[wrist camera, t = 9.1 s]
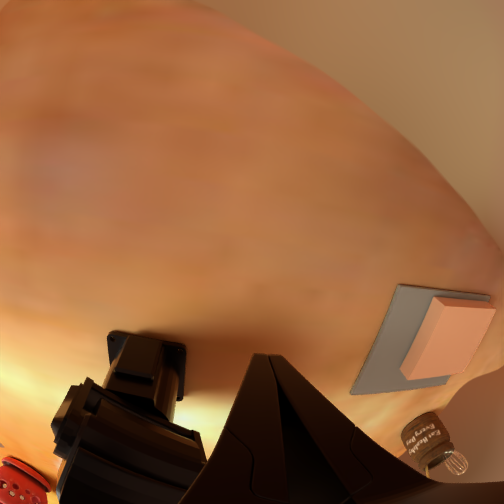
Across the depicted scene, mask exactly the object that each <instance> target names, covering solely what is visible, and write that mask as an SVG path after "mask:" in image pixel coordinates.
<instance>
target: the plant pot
mask: <svg viewBox="0 0 504 504" xmlns="http://www.w3.org/2000/svg"><path fill="white" fill-rule="evenodd" d="M2 463H3V466H1V467H0V504H48V501H47V495H46V492H50V491H51V487H50V485H49V483H48V482H47V481H46V480H45V479H44V478H43V477H42V476H41V475H40V474H39V473H37V472H36V471H34V470H33V469H32V468H31V467H30V466H27V465H25V464H24V463H22V462H20V461H18V460H16V459H13V458H10V457H5V458H3V459H2ZM3 484H6V485H7V487H6V488H3ZM10 491H12V492H14V493H15V495H14V496H11V495H10ZM20 495H22V496H23V497H24V500H21V499H20Z"/></svg>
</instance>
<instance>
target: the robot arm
mask: <svg viewBox="0 0 504 504" xmlns="http://www.w3.org/2000/svg"><path fill="white" fill-rule="evenodd" d="M112 337H114V338H115V339H113V338H112ZM107 344H108V353H109V361H110V369H109V371H108V373H107V376H106V378H105V380H104V383H103V385H102V387H101V386H99V385H97V384H96V383H94V381H93V380H92V379H90V378H88V377H87V378H86V380H85V382H84V384H82V383H80V385H79V386H75V385H71V387H70V389H69V391H68V393H67V395H66V397H65V399H64V401H63V403H62V404H61V406H60V408H59V410H58V411H57V413H56V415H55V417H54V418H53V421H52V423H51V428H52V430H53V433H54V435H55V440H54V443H56V447H55V449H54V452H53V453H54V454H55V455H57V456H59V457H61V458H63V460H62V463H61V465H60V468H59V471H58V476H57V485H56V494H57V497H58V500H59V504H504V481H500V482H487V483H443V482H438V481H434V480H432V479H430V478H428V477H426V476H424V475H422V474H421V473H419V472H418V471H416V470H414V469H413V468H411V467H410V466H408V465H407V464H405V463H404V462H402V461H401V460H399V459H398V458H396V457H395V456H393V455H392V454H391V453H389V452H388V451H386V450H385V449H384V448H382V447H381V446H380V445H378V444H377V443H376V442H375V441H373V440H372V439H371V438H370V437H369V436H367V435H366V434H365V433H364V432H363V431H362V430H361V429H359V428H358V427H357V426H356V427H355V424H354V423H353V422H351V421H350V420H349V419H348V418H347V417H346V416H345V415H344V414H343V413H342V412H341V411H339V410H338V409H337V408H336V407H335V406H334V405H333V404H332V403H331V402H330V401H329V400H328V399H327V398H325V397H324V396H323V395H322V394H321V393H320V392H319V391H318V390H317V389H316V388H315V387H314V386H313V385H312V384H311V383H310V382H309V381H308V380H307V379H305V378H304V377H303V376H302V375H301V374H300V373H299V372H298V371H297V370H296V369H295V368H294V367H293V366H292V365H291V364H290V363H289V362H288V361H287V360H286V359H285V358H284V357H283V356H281V355H273V354H269V355H268V356H267V355H266V354H260V353H254V354H253V355H252V357H251V360H250V363H249V365H248V368H247V370H246V373H245V376H244V378H243V381H242V383H241V386H240V388H239V391H238V393H237V396H236V399H235V401H234V404H233V406H232V408H231V411H230V413H229V416H228V418H227V421H226V423H225V426H224V429H223V430H222V433H221V435H220V437H219V440H218V442H217V444H216V446H215V448H214V450H213V452H212V454H211V456H210V458H209V459H208V461H207V459H206V455H205V452H204V448H203V444H202V441H201V437H200V433H199V432H197V431H194V430H189V429H186V428H184V427H181V426H179V425H177V424H174V423H173V419H174V412H175V405H176V401H182V400H183V395H184V380H185V367H186V354H187V348H186V346H185V345H183V344H179V343H173V342H167V341H161V340H155V339H150V338H144V337H139V336H134V335H128V334H123V333H119V332H114V331H111V332H109V334H108V336H107ZM178 349H181V350H183V351H179V350H178ZM178 396H179V397H178Z"/></svg>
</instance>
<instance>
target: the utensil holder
mask: <svg viewBox="0 0 504 504" xmlns="http://www.w3.org/2000/svg"><path fill="white" fill-rule="evenodd" d="M401 439H402V441H403V444H404V445H405V447H406V449H407V451H408V453H409V455H410V457H411V458H412V460H413V461H414V462H417V463H419V464H418V466H419V468H420V469H421V470H422V471H426V475H427V477H428V478H430V476H429V471H428V470H431V469H433V468H435V467H437V466H438V465H440V464H441V463H443V462H445V460H446V459H448V458H449V457H450V456H451V454H452V453H453V452H454V446H453V443H451V442H449V441H450V436H449V433H448V431H447V430H446V428H445V427H444V425H443V423H442V422H441V421H440V420H439V418H438V416H437V415H436V414H434V413H426V414H423V415H421V416H419V417H418V418H416V419H414V420H413V421H412V422H411V423H409V424H408V425H407V426H406V427H405V429H404V430H403V431H402V434H401ZM449 459H450V458H449ZM462 459H463V458H462ZM453 463H454V462H453ZM445 464H446V463H445ZM467 466H468V465H467ZM449 468H450V467H449ZM450 469H451V468H450ZM464 470H465V469H464ZM450 471H451V470H450ZM465 471H466V470H465ZM461 474H462V473H461Z"/></svg>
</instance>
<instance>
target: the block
mask: <svg viewBox="0 0 504 504" xmlns="http://www.w3.org/2000/svg"><path fill="white" fill-rule="evenodd" d="M495 311H496V308H494V307H493V306H492V305H490V304H489V303H488V302H486V301H476V300H465V299H454V298H444V297H433V299H432V301H431V304H430V306H429V309H428V311H427V313H426V316H425V318H424V320H423V322H422V325H421V327H420V329H419V331H418V333H417V335H416V337H415V339H414V341H413V343H412V346H411V348H410V350H409V351H408V353H407V355H406V357H405V359H404V361H403V363H402V365H401V367H400V370H401V372H402V373H403V375H404V376H405V377H406V379H407V380H415V379H423V378H431V377H438V376H445V375H451V374H457V373H463V372H464V371H465V369H466V367H467V366H468V364H469V362H470V360H471V359H472V357H473V355H474V353H475V351H476V350H477V348H478V346H479V344H480V342H481V340H482V338H483V336H484V334H485V332H486V330H487V328H488V326H489V324H490V322H491V320H492V318H493V316H494V313H495Z"/></svg>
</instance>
